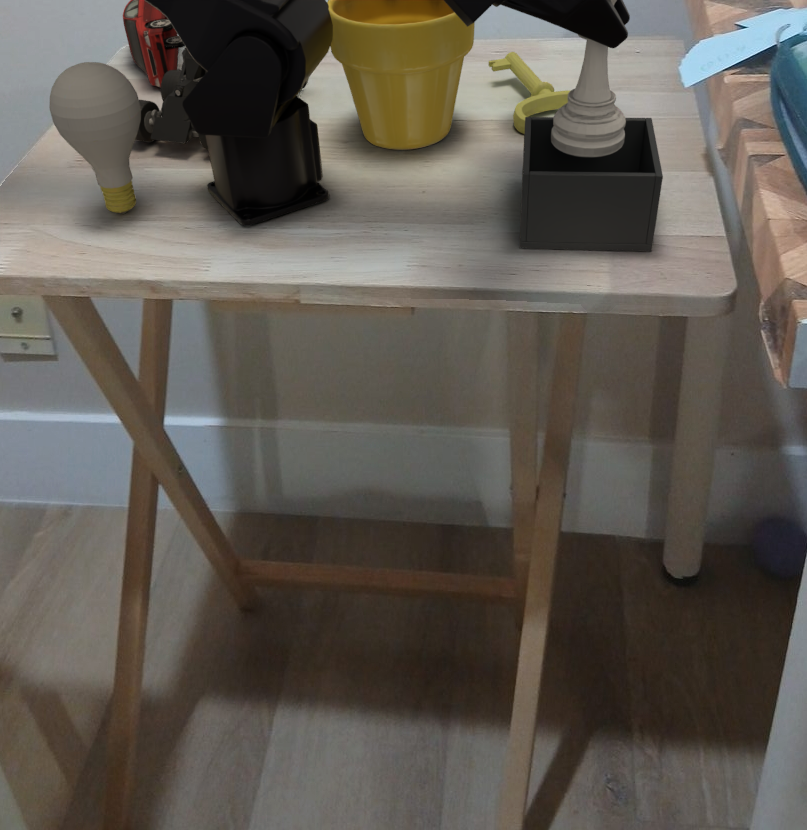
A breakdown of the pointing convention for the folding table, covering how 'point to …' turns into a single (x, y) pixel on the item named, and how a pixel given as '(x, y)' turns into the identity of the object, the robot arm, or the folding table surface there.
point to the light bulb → (99, 125)
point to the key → (530, 90)
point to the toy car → (151, 40)
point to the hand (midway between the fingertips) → (622, 33)
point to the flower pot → (401, 66)
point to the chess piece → (590, 110)
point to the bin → (590, 192)
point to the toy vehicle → (172, 106)
